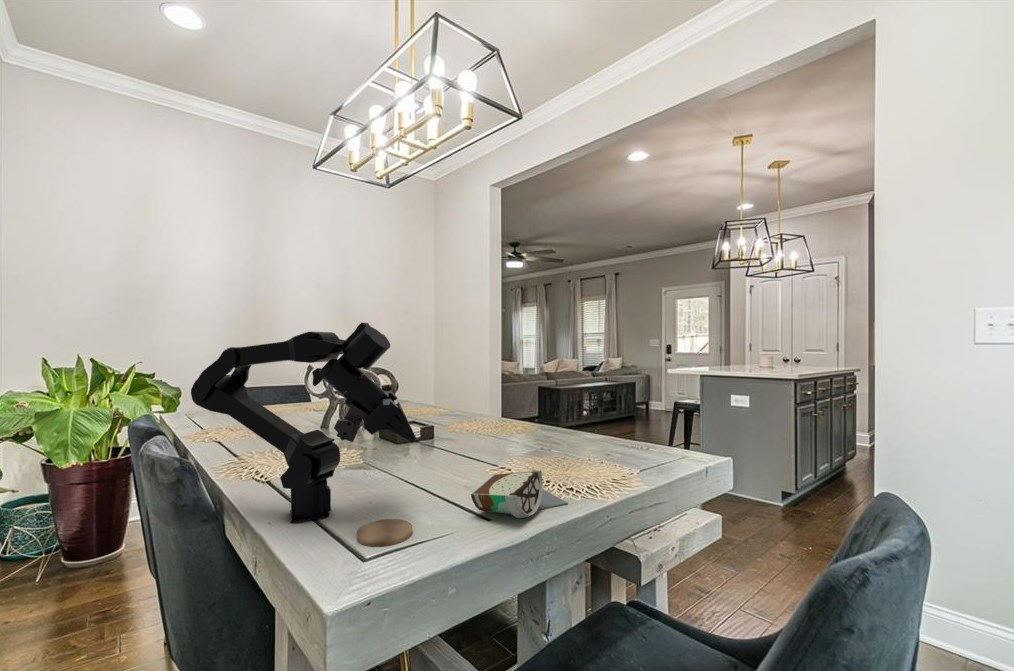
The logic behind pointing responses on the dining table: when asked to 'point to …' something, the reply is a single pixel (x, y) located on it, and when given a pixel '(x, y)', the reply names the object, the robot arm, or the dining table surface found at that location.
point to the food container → (510, 493)
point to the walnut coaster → (384, 532)
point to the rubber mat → (548, 501)
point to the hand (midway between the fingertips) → (414, 440)
